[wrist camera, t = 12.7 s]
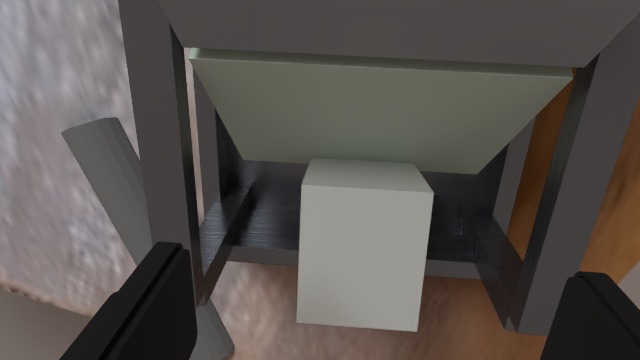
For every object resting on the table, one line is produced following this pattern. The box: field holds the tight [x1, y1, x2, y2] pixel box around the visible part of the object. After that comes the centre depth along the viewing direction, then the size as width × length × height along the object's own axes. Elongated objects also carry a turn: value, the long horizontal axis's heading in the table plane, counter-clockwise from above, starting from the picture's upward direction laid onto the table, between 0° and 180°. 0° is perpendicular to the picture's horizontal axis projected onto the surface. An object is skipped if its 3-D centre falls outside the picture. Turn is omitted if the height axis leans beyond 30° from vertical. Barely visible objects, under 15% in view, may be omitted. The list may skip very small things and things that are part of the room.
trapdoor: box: [158, 0, 640, 174], centre depth 16 cm, size 12×13×2 cm
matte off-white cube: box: [296, 157, 434, 332], centre depth 19 cm, size 5×5×6 cm
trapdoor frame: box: [118, 0, 640, 336], centre depth 19 cm, size 17×19×11 cm
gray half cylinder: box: [61, 117, 234, 360], centre depth 29 cm, size 4×20×2 cm, turn 18°
